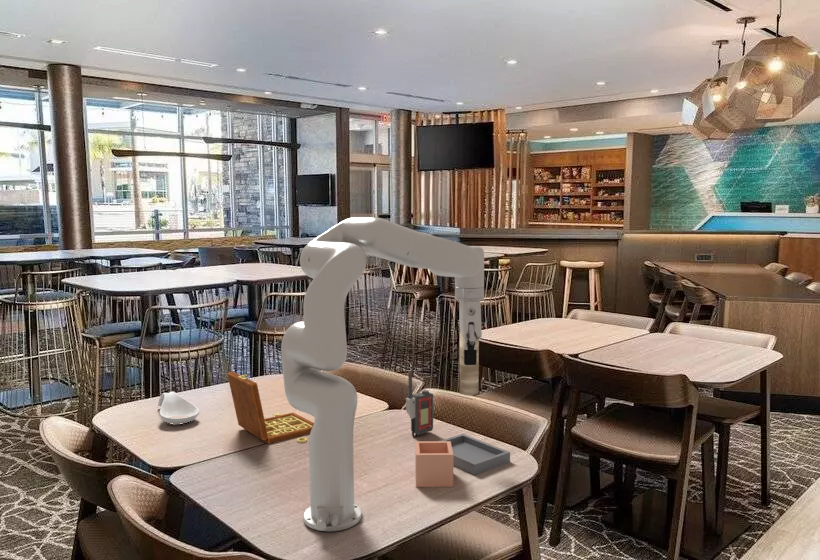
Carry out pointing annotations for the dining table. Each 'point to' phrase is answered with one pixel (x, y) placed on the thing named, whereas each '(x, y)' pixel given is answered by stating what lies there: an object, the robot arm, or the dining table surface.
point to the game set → (253, 417)
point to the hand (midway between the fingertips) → (469, 361)
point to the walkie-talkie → (419, 410)
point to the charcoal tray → (476, 454)
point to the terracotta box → (433, 464)
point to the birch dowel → (468, 371)
